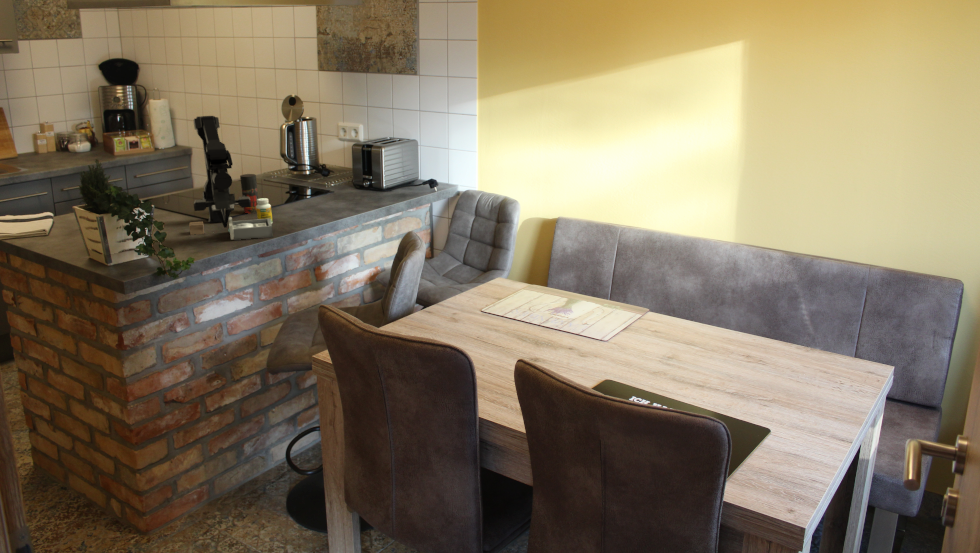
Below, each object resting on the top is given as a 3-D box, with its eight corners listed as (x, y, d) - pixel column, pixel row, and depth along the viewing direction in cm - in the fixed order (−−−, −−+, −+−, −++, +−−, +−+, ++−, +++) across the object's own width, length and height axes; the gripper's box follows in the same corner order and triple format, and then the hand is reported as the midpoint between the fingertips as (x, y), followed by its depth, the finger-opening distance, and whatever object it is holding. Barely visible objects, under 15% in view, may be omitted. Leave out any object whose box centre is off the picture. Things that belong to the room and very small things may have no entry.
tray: (228, 230, 265) (227, 217, 263) (266, 227, 269) (264, 214, 267) (229, 239, 253) (227, 225, 252) (268, 236, 258) (266, 222, 256)
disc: (235, 228, 262) (235, 223, 261) (253, 227, 264) (252, 221, 263) (235, 232, 257) (235, 227, 256) (253, 231, 259) (252, 225, 258)
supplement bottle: (270, 221, 279) (267, 197, 276) (274, 224, 275) (272, 199, 272) (256, 223, 277) (253, 198, 273) (260, 226, 272) (257, 201, 269)
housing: (233, 231, 265) (232, 221, 264) (270, 228, 269) (269, 218, 268) (234, 240, 254) (233, 229, 253) (273, 237, 258) (272, 226, 257)
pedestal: (191, 231, 265) (189, 222, 264) (204, 230, 266) (202, 221, 265) (190, 234, 261) (189, 225, 260) (203, 233, 262) (202, 224, 261)
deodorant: (241, 213, 292) (236, 176, 287) (250, 209, 297) (246, 173, 292) (253, 214, 290) (249, 177, 285) (262, 211, 295) (258, 174, 290)
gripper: (190, 190, 243) (196, 235, 248) (249, 186, 249) (254, 230, 254) (191, 183, 252) (197, 227, 258) (248, 180, 258) (252, 223, 264)
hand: (225, 227), depth 258 cm, fingers closed
